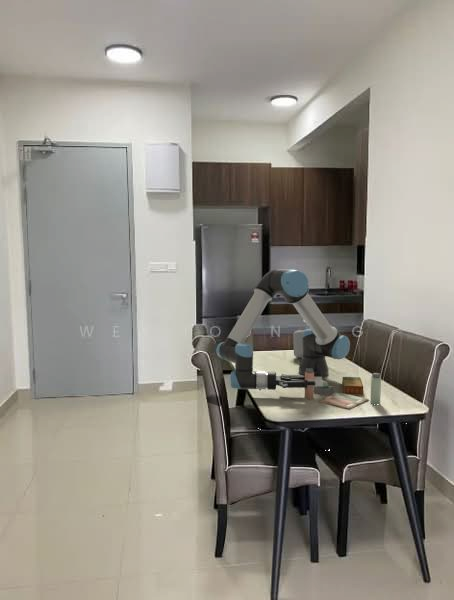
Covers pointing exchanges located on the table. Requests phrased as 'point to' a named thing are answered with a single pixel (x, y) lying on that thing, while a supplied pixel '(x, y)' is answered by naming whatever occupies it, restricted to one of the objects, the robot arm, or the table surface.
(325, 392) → the button housing
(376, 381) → the sage marker
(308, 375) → the terracotta marker
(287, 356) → the table surface
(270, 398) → the table surface
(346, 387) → the carton
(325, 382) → the button
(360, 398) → the colouring board
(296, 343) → the jar
